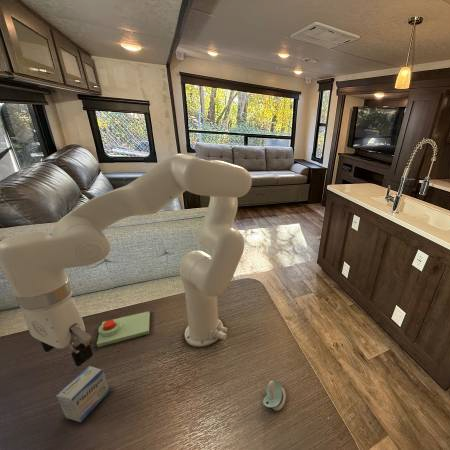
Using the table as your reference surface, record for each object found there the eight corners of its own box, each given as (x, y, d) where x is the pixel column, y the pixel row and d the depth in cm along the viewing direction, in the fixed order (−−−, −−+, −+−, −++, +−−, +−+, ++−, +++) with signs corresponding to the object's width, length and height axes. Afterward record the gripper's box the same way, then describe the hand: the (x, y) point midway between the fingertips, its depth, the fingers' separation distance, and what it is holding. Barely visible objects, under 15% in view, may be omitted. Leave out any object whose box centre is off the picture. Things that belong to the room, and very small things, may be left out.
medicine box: (80, 423, 59) (70, 400, 56) (65, 418, 60) (54, 395, 56) (110, 391, 66) (103, 369, 63) (96, 386, 67) (88, 364, 64)
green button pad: (149, 314, 92) (148, 307, 91) (149, 333, 84) (147, 327, 83) (103, 324, 86) (101, 318, 84) (97, 347, 78) (95, 340, 76)
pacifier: (287, 387, 71) (267, 384, 72) (289, 373, 69) (268, 369, 69) (283, 415, 65) (261, 411, 65) (285, 400, 62) (262, 396, 63)
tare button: (116, 322, 84) (115, 318, 83) (114, 329, 81) (113, 325, 81) (105, 325, 82) (104, 321, 82) (103, 331, 80) (102, 327, 79)
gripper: (-9, 292, 48) (22, 354, 55) (53, 318, 44) (78, 382, 50) (38, 272, 55) (61, 330, 61) (97, 293, 50) (114, 352, 57)
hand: (69, 353), depth 56 cm, fingers open, 9 cm apart
